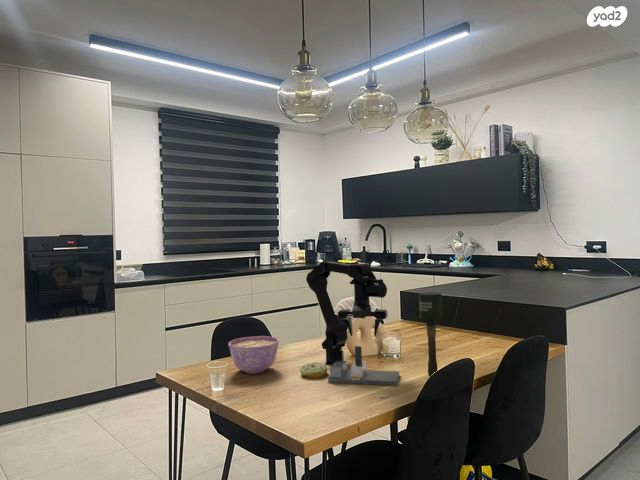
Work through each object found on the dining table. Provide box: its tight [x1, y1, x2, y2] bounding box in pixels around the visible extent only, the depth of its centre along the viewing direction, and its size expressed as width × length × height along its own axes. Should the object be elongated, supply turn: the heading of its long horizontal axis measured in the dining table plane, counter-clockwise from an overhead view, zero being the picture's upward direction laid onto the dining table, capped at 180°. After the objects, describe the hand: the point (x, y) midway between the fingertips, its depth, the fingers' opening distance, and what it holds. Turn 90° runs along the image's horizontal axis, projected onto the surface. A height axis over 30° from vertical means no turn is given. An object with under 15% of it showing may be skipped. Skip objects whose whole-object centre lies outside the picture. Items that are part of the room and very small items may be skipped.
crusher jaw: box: [350, 345, 367, 378], centre depth 172 cm, size 4×8×10 cm, turn 165°
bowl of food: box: [228, 335, 280, 374], centre depth 188 cm, size 20×20×12 cm
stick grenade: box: [418, 291, 444, 377], centre depth 173 cm, size 8×9×30 cm
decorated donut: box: [299, 362, 328, 379], centre depth 180 cm, size 10×11×4 cm
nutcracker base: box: [327, 360, 400, 387], centre depth 172 cm, size 24×12×5 cm, turn 75°
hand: (363, 336), depth 184 cm, fingers open, 9 cm apart
